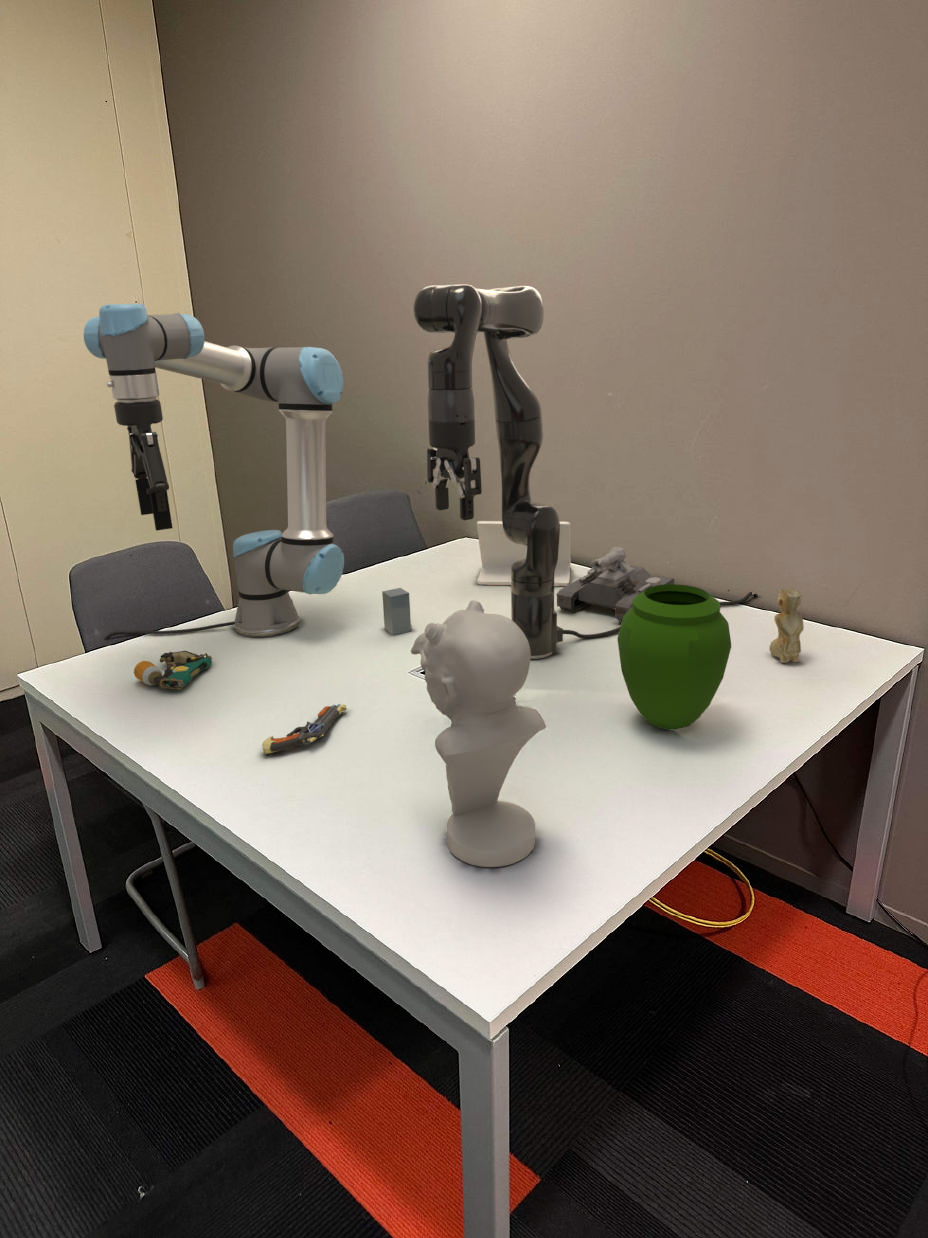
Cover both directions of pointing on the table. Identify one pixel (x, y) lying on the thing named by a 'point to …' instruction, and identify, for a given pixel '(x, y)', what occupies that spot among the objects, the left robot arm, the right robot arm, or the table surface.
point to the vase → (673, 653)
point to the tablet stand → (515, 554)
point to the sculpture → (788, 626)
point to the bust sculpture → (481, 729)
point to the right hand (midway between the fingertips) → (454, 514)
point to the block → (396, 611)
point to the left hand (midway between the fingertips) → (156, 521)
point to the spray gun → (172, 669)
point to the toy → (609, 585)
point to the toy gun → (305, 731)
